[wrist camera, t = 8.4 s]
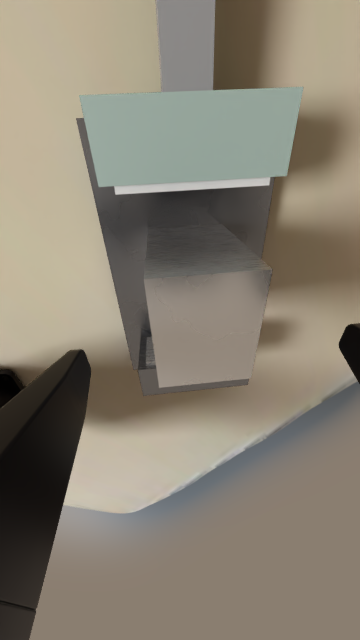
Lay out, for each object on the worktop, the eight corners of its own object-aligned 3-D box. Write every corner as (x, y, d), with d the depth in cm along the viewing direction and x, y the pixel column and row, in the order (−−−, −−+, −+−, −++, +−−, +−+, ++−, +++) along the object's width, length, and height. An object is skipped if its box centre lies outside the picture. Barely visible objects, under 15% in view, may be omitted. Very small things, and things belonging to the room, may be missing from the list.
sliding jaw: (256, 180, 11) (300, 187, 8) (112, 189, 11) (94, 200, 8) (309, -244, 6) (514, -782, 3) (31, -255, 6) (-159, -899, 2)
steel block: (217, 303, 15) (251, 378, 10) (157, 308, 15) (159, 387, 10) (221, 223, 12) (272, 269, 7) (148, 228, 12) (143, 279, 7)
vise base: (242, 351, 19) (260, 390, 16) (134, 362, 19) (130, 404, 15) (277, 113, 11) (332, 90, 7) (81, 121, 10) (46, 101, 7)
